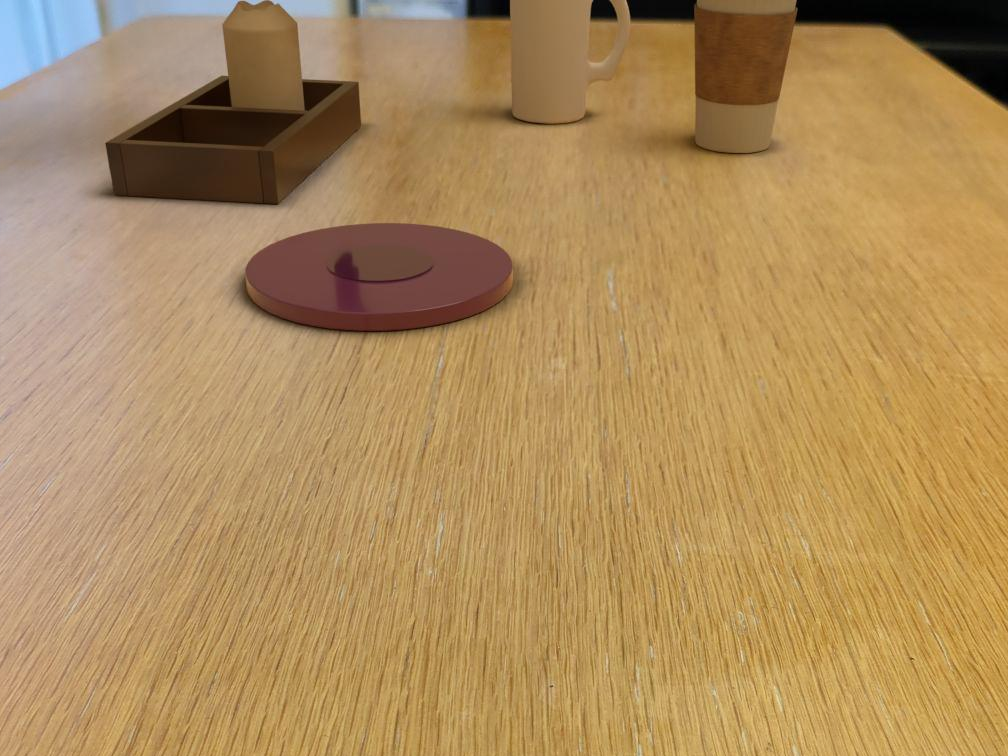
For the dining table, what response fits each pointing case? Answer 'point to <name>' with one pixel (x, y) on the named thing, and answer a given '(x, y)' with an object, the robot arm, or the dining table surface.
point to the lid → (379, 276)
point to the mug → (557, 57)
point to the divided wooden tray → (232, 145)
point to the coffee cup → (739, 71)
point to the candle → (263, 57)
